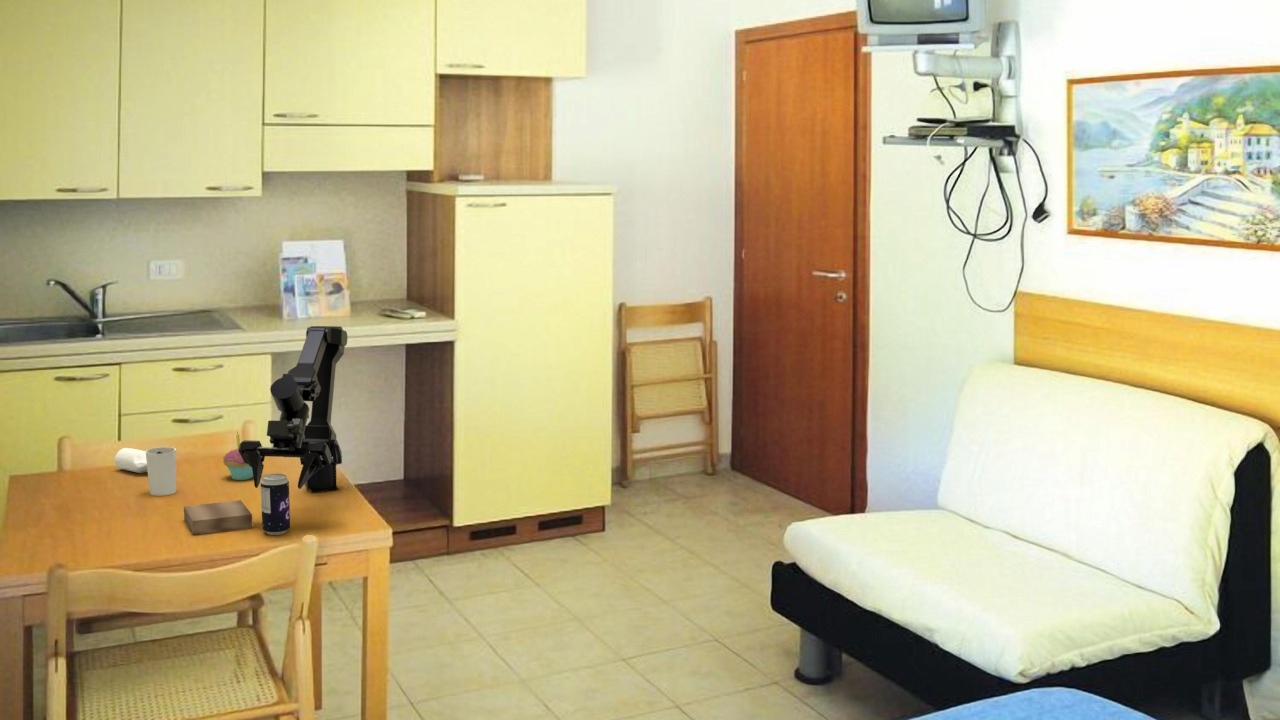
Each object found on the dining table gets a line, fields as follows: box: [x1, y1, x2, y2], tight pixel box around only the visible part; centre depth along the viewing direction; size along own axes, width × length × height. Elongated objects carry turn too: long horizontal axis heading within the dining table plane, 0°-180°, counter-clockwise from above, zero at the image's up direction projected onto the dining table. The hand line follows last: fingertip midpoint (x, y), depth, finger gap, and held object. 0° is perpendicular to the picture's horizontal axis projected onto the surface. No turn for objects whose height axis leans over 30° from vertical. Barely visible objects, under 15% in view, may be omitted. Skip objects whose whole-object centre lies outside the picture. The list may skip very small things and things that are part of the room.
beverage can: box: [260, 473, 291, 536], centre depth 277 cm, size 6×6×12 cm
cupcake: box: [222, 430, 253, 481], centre depth 320 cm, size 9×8×12 cm
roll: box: [114, 447, 148, 474], centre depth 324 cm, size 6×12×6 cm, turn 56°
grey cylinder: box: [145, 446, 177, 497], centre depth 306 cm, size 7×7×10 cm
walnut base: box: [183, 500, 253, 536], centre depth 283 cm, size 12×12×3 cm
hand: (277, 487), depth 278 cm, fingers open, 9 cm apart
